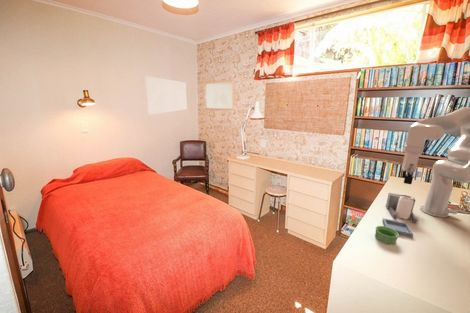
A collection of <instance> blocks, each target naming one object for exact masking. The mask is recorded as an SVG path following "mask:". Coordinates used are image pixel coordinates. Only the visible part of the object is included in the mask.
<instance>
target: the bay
mask: <svg viewBox="0 0 470 313" xmlns="http://www.w3.org/2000/svg"><path fill="white" fill-rule="evenodd" d="M401 195H402V194H398V193H397V194H396V193H391V192H388V195H387V200H386V204H385V207H386V210H387V211H388V212H389V213H390V215H391V217H392V220H396V219H397V215H396V209H397V205H398V201H399V198H400V197H401ZM409 196H410V197H412V198H413V201H414V203H413V207H412V210H411V214H410V218H409V219H410V220H411V221H412V223H413V224H417V222H418V218H417V217H416V215H415V214H414V212H413V211H414V210H413V209H414V207H415V204H416V199H415V197H414V196H411V195H409Z"/></svg>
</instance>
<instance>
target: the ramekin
mask: <svg viewBox="0 0 470 313" xmlns="http://www.w3.org/2000/svg"><path fill="white" fill-rule="evenodd" d="M374 236H375V239H376V240H378V241H379V242H380V243H381V244H385V245H395V244H396V243H397V241H398V238H399V237H400V235H399V234H398V232H396V231H395V230H393V229H391V228H388V227H385V226H384V225H377V226H376V227H375V234H374Z"/></svg>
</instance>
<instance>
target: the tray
mask: <svg viewBox="0 0 470 313" xmlns="http://www.w3.org/2000/svg"><path fill="white" fill-rule="evenodd" d="M382 224H383V225H382V226H385V227H388V228H391V229H393V230H395V231H396V232H398V234H399V236H403V237H407V238H411V239H413V237H414V232H413V230H412V229H411V227H410V226H409V224H408V223H407V222H402V221H398V220H395V219H389V218H384V217H382Z"/></svg>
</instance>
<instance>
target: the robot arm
mask: <svg viewBox="0 0 470 313" xmlns="http://www.w3.org/2000/svg"><path fill="white" fill-rule="evenodd" d="M458 128H460V136H459V138H458V140H457V141H456V142H455V143H454V145H453V146H452V147H451V148H450V150H449V151H448V152H447V154H446V155H447V159H448V160H447V159H440V160H437V161H435V162H434V163H433V165H432V176H431V181H430V184H429V189H428V192H427V195H426V199H425V203H424V205H421V206H420V207H419V210H420V211H422V212H424V213H425V214H426V215H429V216H432V217H433V216H434V217H437V218H448V216H449V214H453V215H458V214H457V213H458V211H457V210H453V209H452V208H448V206H449V202H450V198H451V196H452V193H453V192H452V191H453V189H454V185H453V184H454V183H453V181H456V182H458V183H462V184H469V183H470V106H464V107H460V108H459V109H456V110H454V111H452V112H449V113H447V114H445V115H438V116H433V117H427V118H423V119H421V120H419V121H416V122H414V123H413V124H412V125H409V127H408V131H407V136H406V141H405V146H404V149H403V150H404V152H405V153H404V155H403V159H402V160H403V161H402V163H401V169H402V174H401V178H402V179H404V180H403V184H405V185H412V183H413V180H414V174H415V173H416V171H417V167H418V163H419V157H420V155H422V154H423V151H424V148H425V145H426V140H429V141H438V140H440V139H441V138H443V137H444V135H445V134H446V133H445V131H453V130H456V129H458Z"/></svg>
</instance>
